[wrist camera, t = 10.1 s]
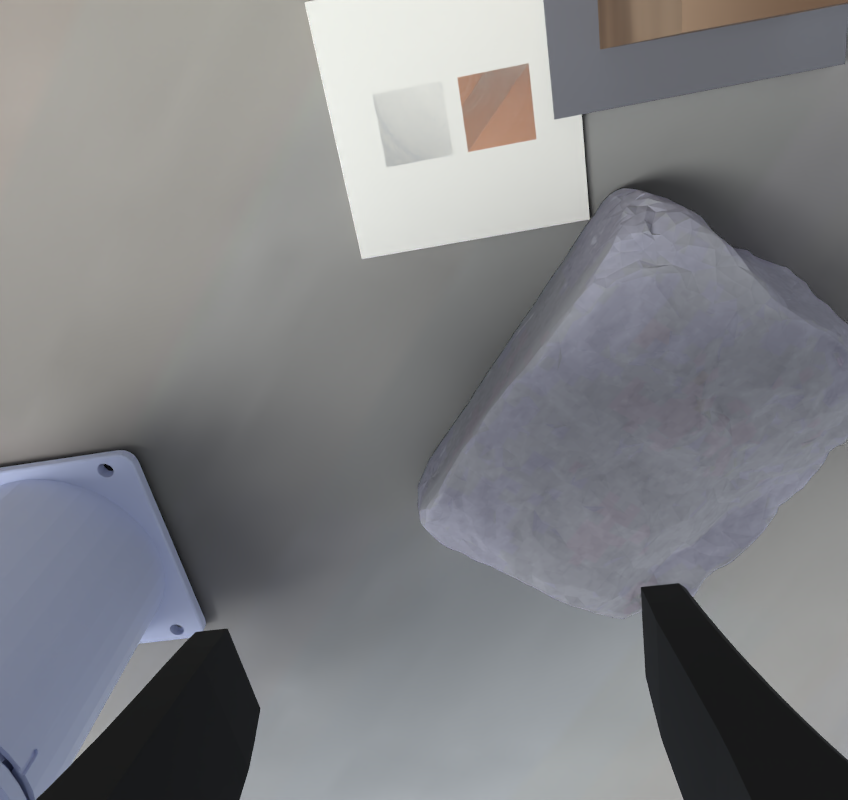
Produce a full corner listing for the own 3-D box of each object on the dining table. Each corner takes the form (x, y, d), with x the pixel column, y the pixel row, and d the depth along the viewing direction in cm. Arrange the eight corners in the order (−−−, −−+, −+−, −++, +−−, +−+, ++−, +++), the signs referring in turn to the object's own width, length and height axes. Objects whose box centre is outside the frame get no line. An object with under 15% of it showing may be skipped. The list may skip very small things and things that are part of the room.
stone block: (843, 299, 21) (596, 147, 18) (962, 377, 17) (675, 200, 14) (616, 550, 26) (390, 471, 23) (668, 655, 22) (403, 578, 19)
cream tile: (362, 257, 19) (361, 259, 19) (305, 3, 16) (304, 2, 16) (588, 218, 18) (589, 219, 18) (567, -55, 16) (568, -56, 16)
